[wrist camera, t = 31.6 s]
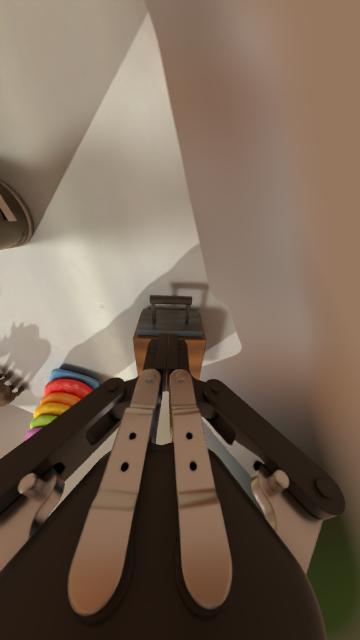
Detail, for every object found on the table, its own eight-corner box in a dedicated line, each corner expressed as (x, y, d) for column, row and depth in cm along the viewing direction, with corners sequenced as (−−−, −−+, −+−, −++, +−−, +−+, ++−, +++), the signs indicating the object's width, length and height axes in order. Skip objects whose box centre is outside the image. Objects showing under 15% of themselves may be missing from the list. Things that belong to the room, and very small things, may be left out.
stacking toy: (92, 400, 54) (46, 508, 34) (49, 388, 50) (-31, 502, 31) (106, 376, 48) (58, 492, 28) (57, 360, 44) (-37, 482, 24)
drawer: (141, 284, 32) (133, 302, 26) (201, 286, 32) (207, 304, 26) (147, 355, 42) (142, 380, 36) (192, 356, 43) (195, 380, 37)
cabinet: (141, 311, 36) (132, 338, 28) (199, 313, 37) (206, 340, 29) (145, 359, 44) (139, 390, 37) (193, 359, 45) (197, 390, 37)
